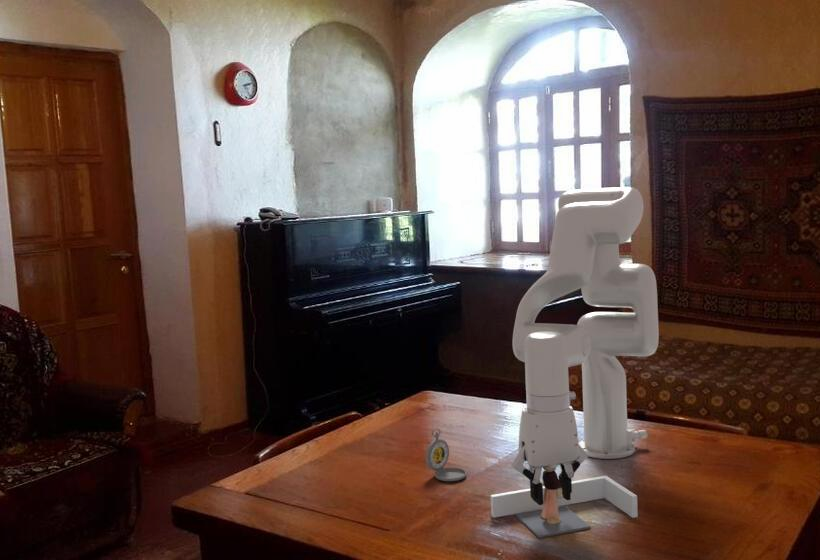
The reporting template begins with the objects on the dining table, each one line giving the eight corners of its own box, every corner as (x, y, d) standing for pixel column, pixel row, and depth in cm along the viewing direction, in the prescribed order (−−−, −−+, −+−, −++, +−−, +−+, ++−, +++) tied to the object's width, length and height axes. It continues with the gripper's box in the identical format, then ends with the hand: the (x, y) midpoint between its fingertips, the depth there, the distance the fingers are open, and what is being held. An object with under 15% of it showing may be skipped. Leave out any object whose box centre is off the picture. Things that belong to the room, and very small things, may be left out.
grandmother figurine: (531, 515, 148) (528, 448, 146) (548, 510, 149) (546, 444, 148) (555, 530, 141) (553, 460, 139) (573, 525, 142) (571, 456, 141)
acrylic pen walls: (606, 495, 156) (606, 475, 155) (637, 516, 145) (637, 495, 145) (491, 515, 149) (490, 495, 149) (515, 539, 139) (514, 517, 138)
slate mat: (564, 507, 151) (564, 505, 151) (590, 528, 142) (590, 526, 142) (515, 516, 149) (515, 514, 148) (538, 538, 139) (538, 535, 139)
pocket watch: (464, 483, 166) (461, 436, 165) (424, 482, 168) (421, 436, 167) (469, 469, 174) (467, 424, 173) (431, 468, 176) (428, 424, 175)
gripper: (580, 390, 148) (583, 485, 150) (495, 402, 144) (499, 500, 146) (601, 400, 141) (604, 500, 143) (512, 413, 137) (516, 515, 139)
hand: (551, 498), depth 145 cm, fingers open, 4 cm apart
